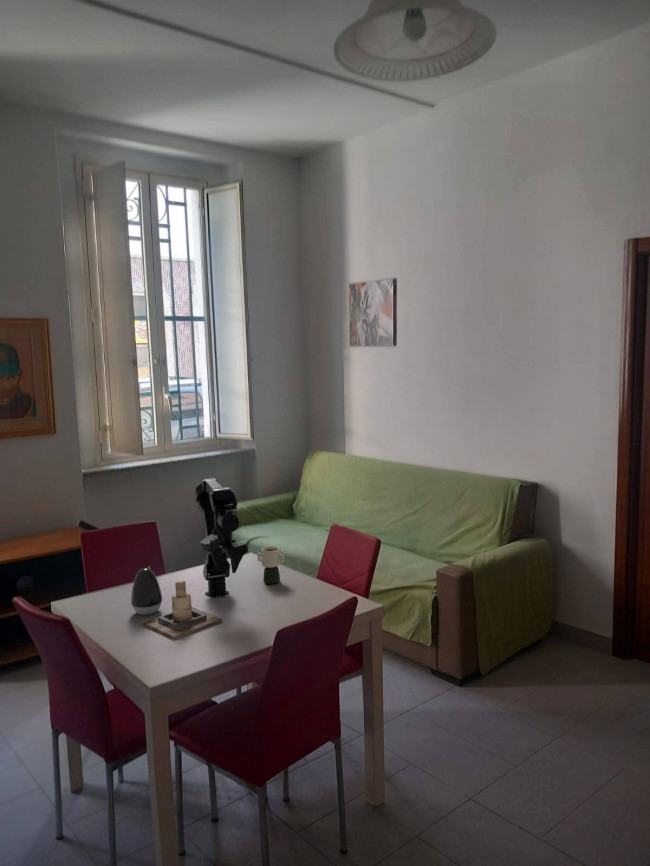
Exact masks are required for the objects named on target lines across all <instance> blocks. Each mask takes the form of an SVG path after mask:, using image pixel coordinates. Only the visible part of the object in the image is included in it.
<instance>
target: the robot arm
mask: <svg viewBox="0 0 650 866" xmlns="http://www.w3.org/2000/svg"><path fill="white" fill-rule="evenodd" d="M193 495H194V496H193V499H194V502H195V503H196V507H197V509H198V510H199V511H200V512H201V514H202V517H203V525H204V530H205V532H204V533H205V536H206V537H205V538H203V539H202V540H200V541H199V543H200V547H201V548H202V551H203V552H207V555H206V558H205V563H204V566H203V570H202V573H203V578H204V579H205V581H207V586H208V587H207V589H208V591H206V592H204V595H206V596H208V597H209V596H210V597H212V598H219V597H222V596H225V595H228V594H230V590H229V591H228V590H227V585H226V584H227V583H226V578H230V575H231V574H230V572H232V574H236V572H237V570H238V568H239V565H240V563H241V561H242V559H243V557H244V555H246V554H247V553H249V546H248V545H247V544H246V543H243V542H236V539H235V538H233V532H234V531H236V530H237V529H238V528H239V525H240V520H239V518H238V517H237V515H235V514H234V513H233V510H237V509H238V500H237V498H236V494H235V492H234V490H232V488H231V487H229V486H222V485H221V484H220V483H219V482H218V480H217V478H203V479H202V480H201V483H200V484H199V485H198V486H196V487H195V490H194V494H193ZM223 549H225V550H226V552H225V551H223ZM227 557H228V558H229V559H230V561H229V560H228V558H227ZM230 570H231V571H230Z"/></svg>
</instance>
